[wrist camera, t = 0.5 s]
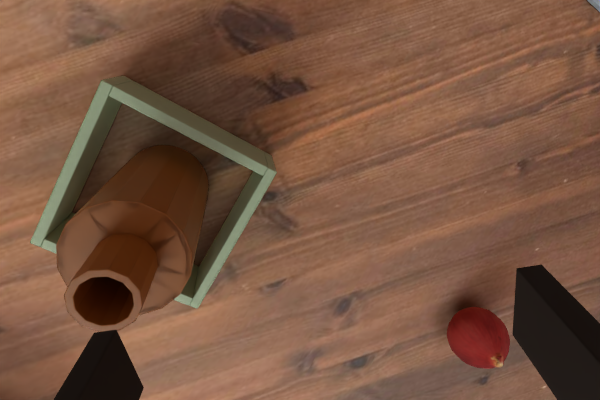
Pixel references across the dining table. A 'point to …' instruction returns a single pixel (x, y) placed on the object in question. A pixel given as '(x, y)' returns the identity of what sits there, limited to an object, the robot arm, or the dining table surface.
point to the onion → (478, 337)
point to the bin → (181, 121)
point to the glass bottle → (134, 239)
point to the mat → (595, 4)
